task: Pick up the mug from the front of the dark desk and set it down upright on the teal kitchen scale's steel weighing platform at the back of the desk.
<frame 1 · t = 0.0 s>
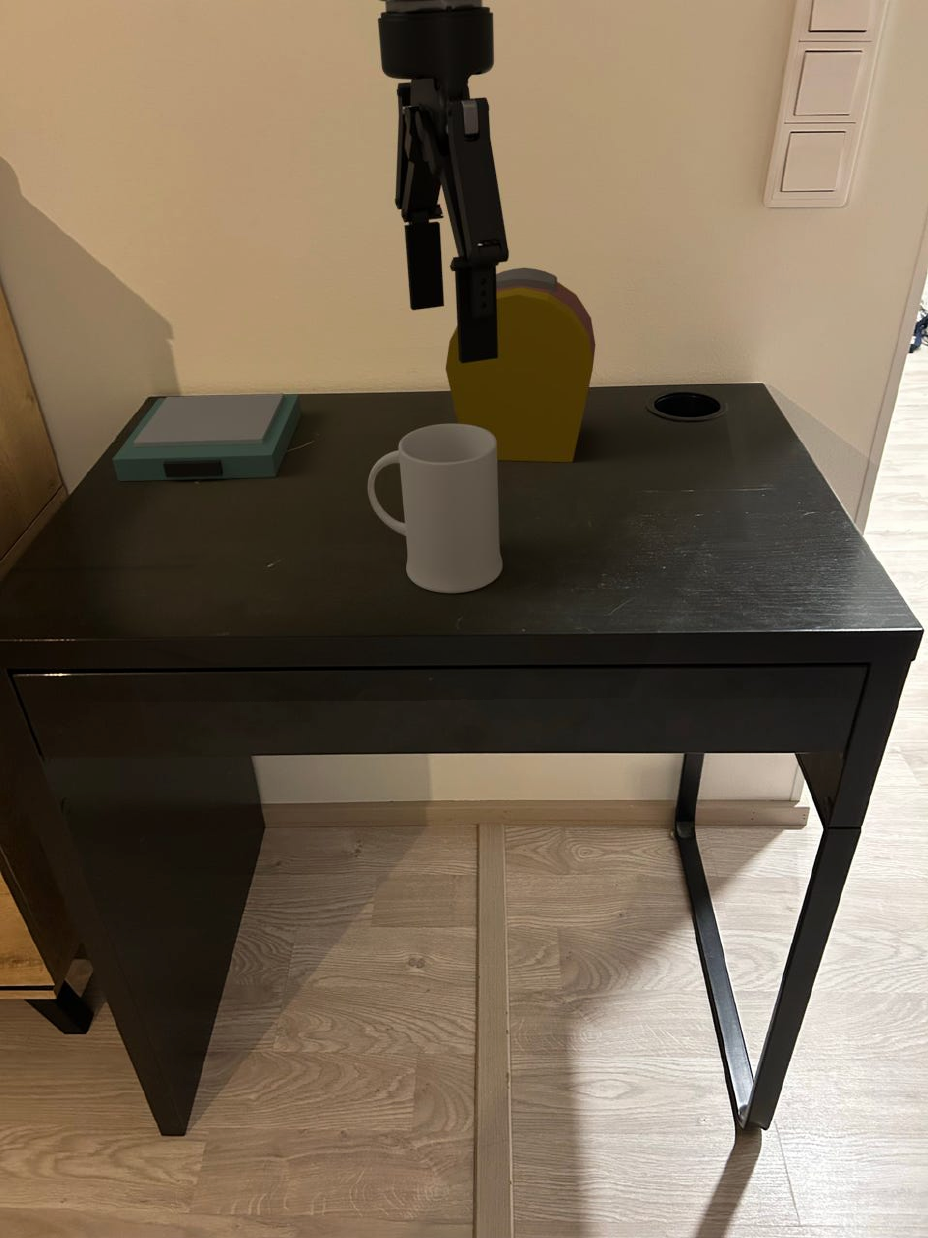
hand: (451, 331, 74), 21 cm above the table, tool pointing down, fingers open, 13 cm apart
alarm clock: (522, 446, 105), on the table
mug: (438, 566, 85), on the table
scale: (215, 445, 109), on the table
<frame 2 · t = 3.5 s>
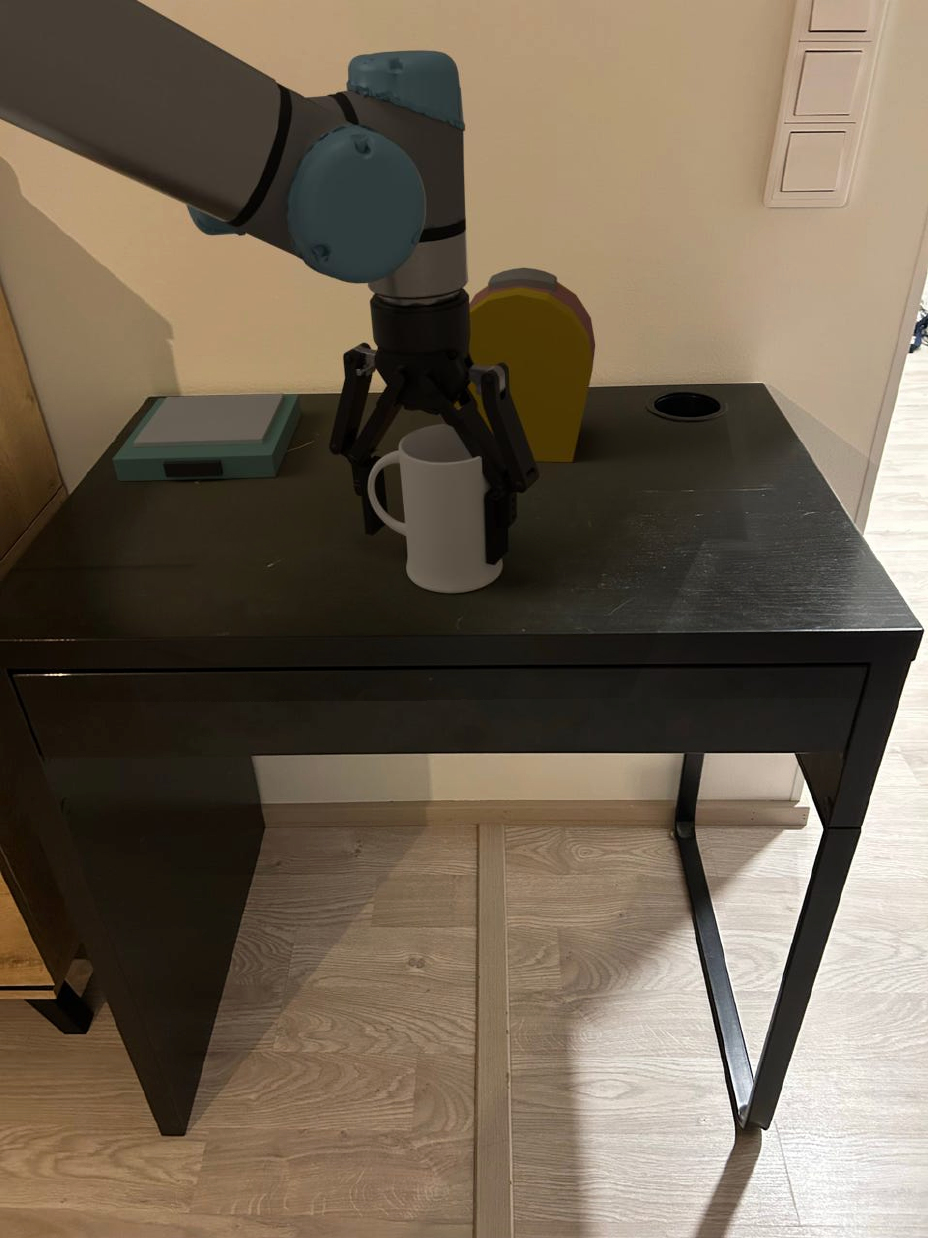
hand: (435, 542, 84), 2 cm above the table, tool pointing down, fingers closed on mug, 11 cm apart
mug: (438, 566, 85), on the table, touching gripper
everything else where it was.
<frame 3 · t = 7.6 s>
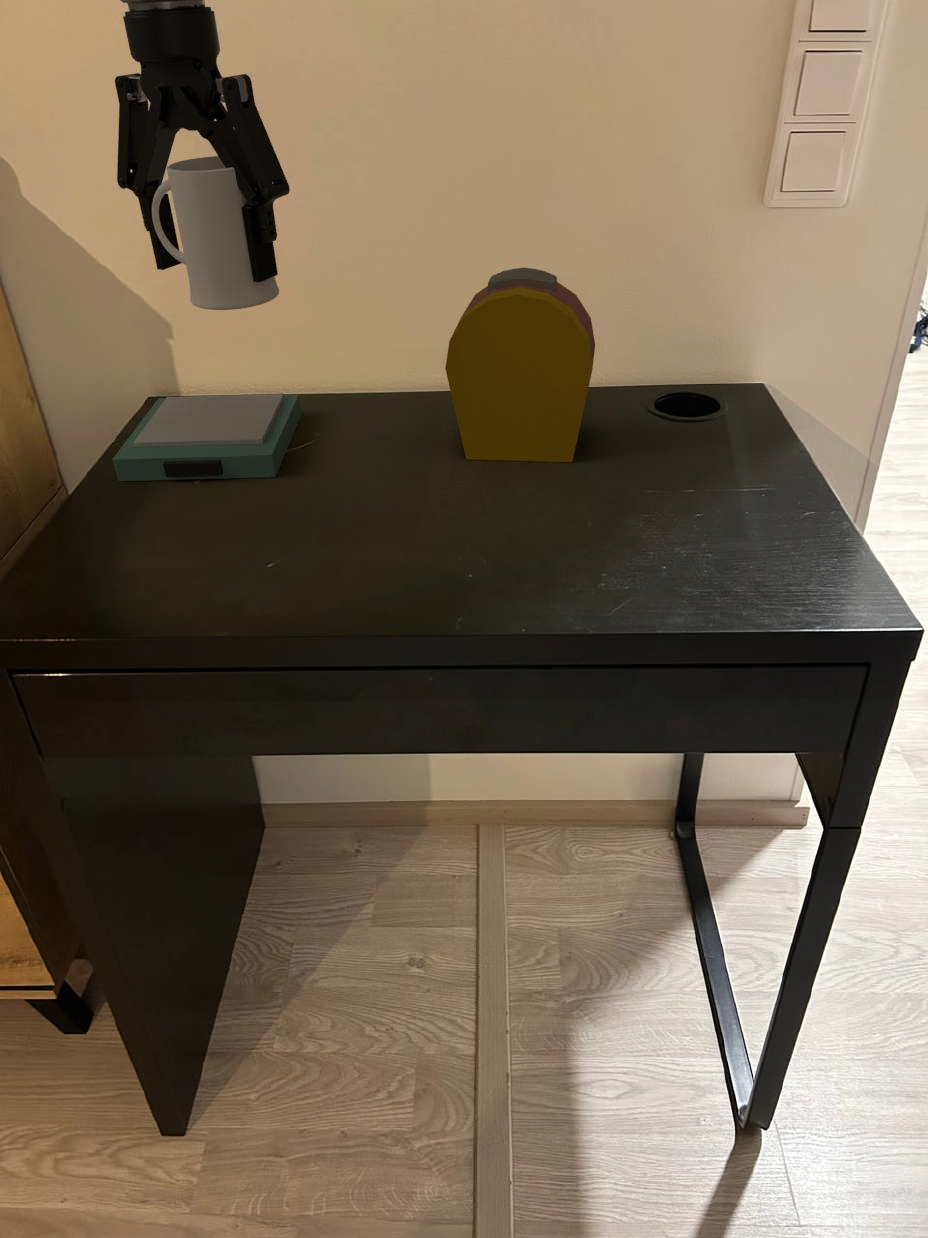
hand: (216, 272, 92), 20 cm above the table, tool pointing down, fingers closed on mug, 11 cm apart
mug: (222, 297, 94), point 18 cm above the table, touching gripper
everything else where it was.
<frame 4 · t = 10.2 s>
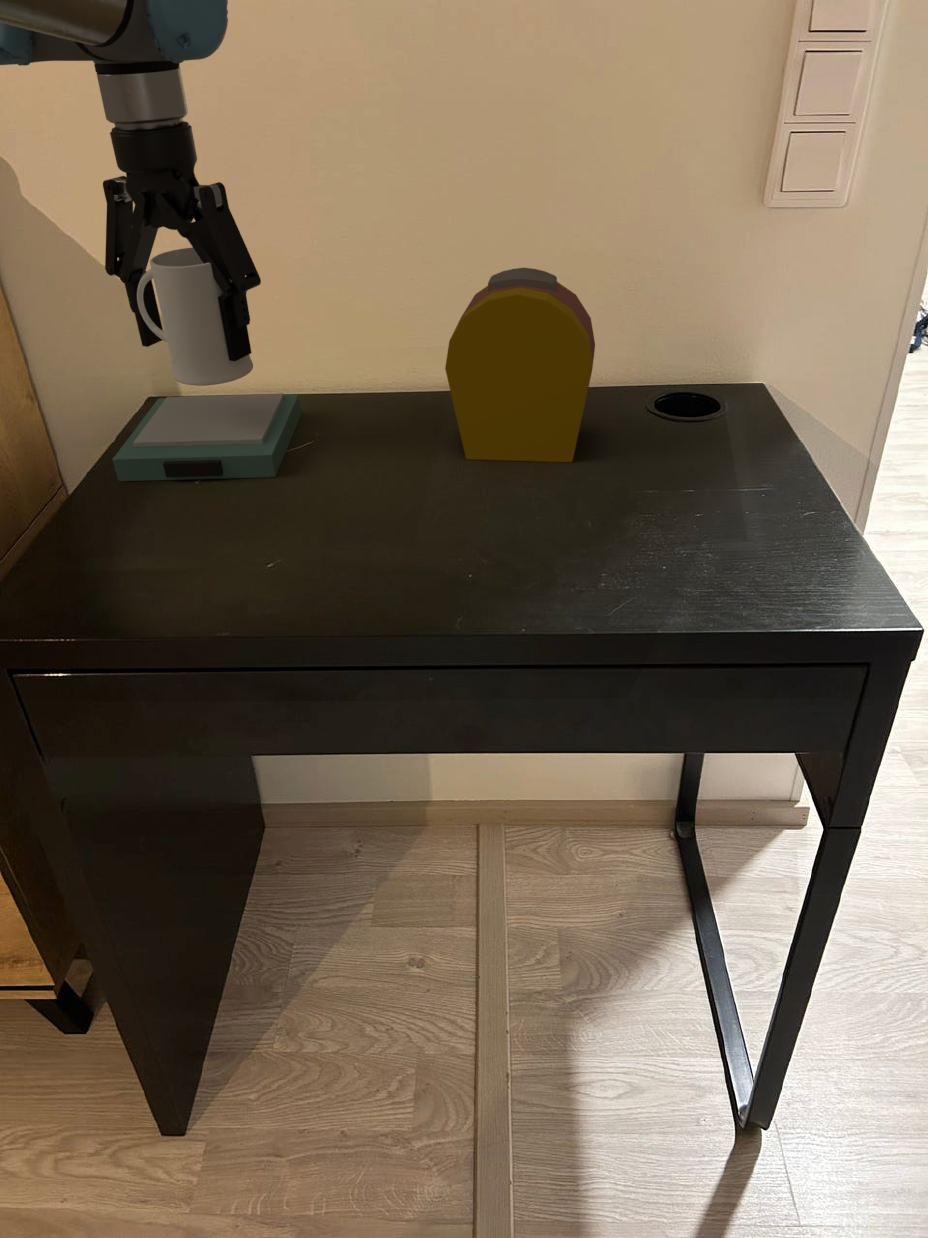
hand: (196, 349, 102), 11 cm above the table, tool pointing down, fingers closed on mug, 11 cm apart
mug: (201, 371, 104), point 9 cm above the table, touching gripper
everything else where it was.
when the fingers open (5 cm above the table, at t = 12.2 s): mug stays where it is, resting on scale.
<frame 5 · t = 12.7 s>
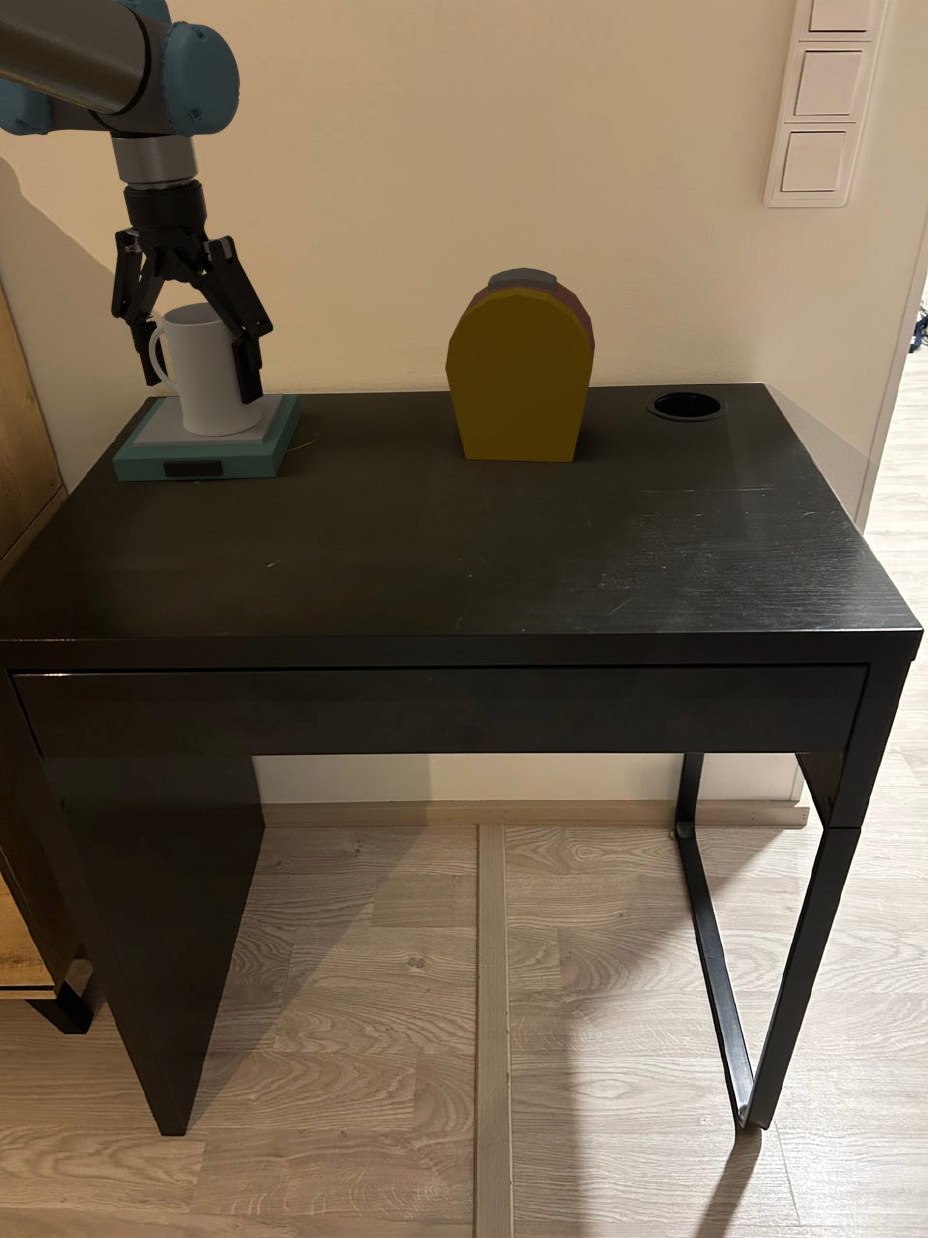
hand: (204, 390, 105), 7 cm above the table, tool pointing down, fingers open, 13 cm apart
mug: (211, 421, 107), point 3 cm above the table, touching scale
everything else where it was.
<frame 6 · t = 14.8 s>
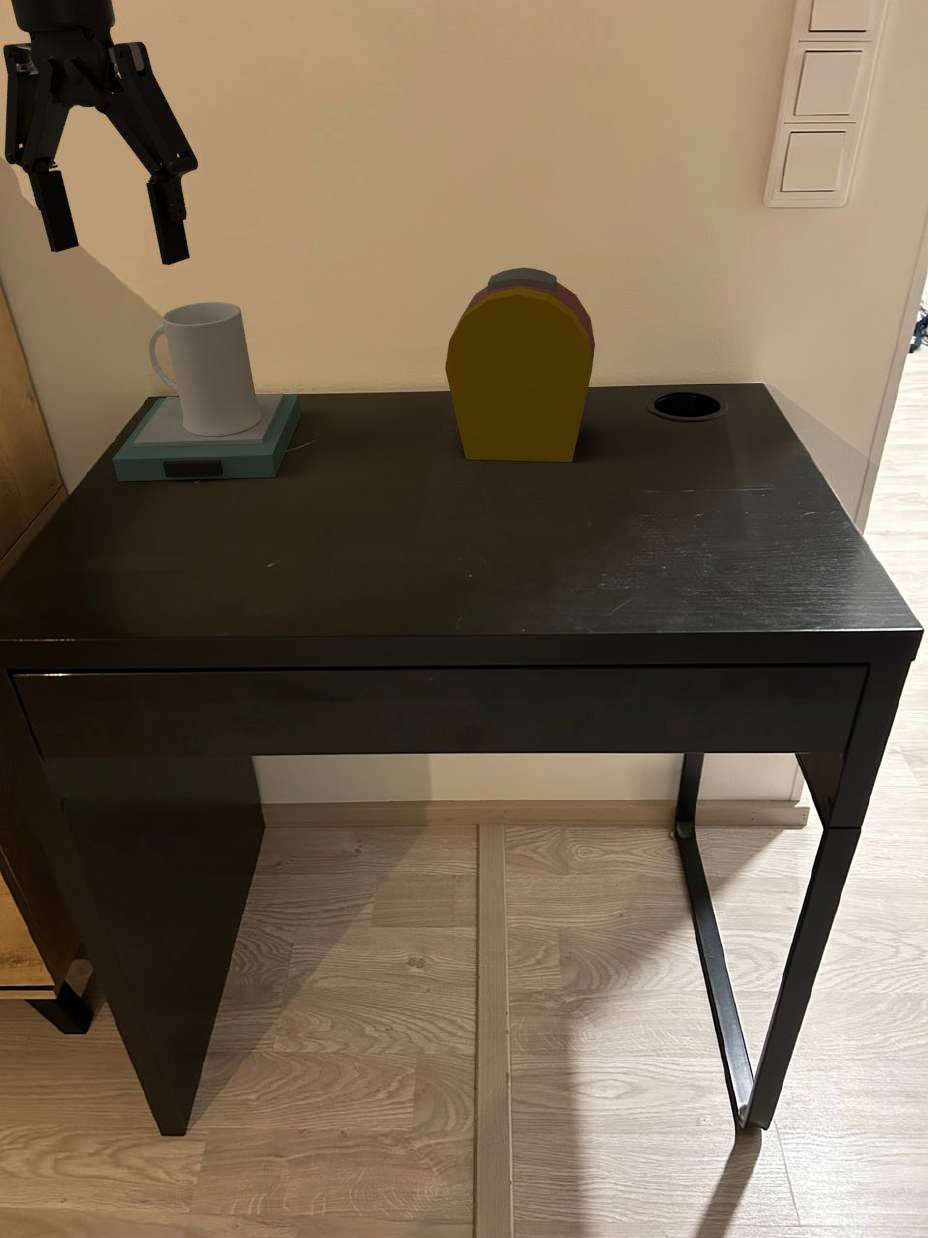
hand: (119, 255, 86), 24 cm above the table, tool pointing down, fingers open, 13 cm apart
nothing on the table moved.
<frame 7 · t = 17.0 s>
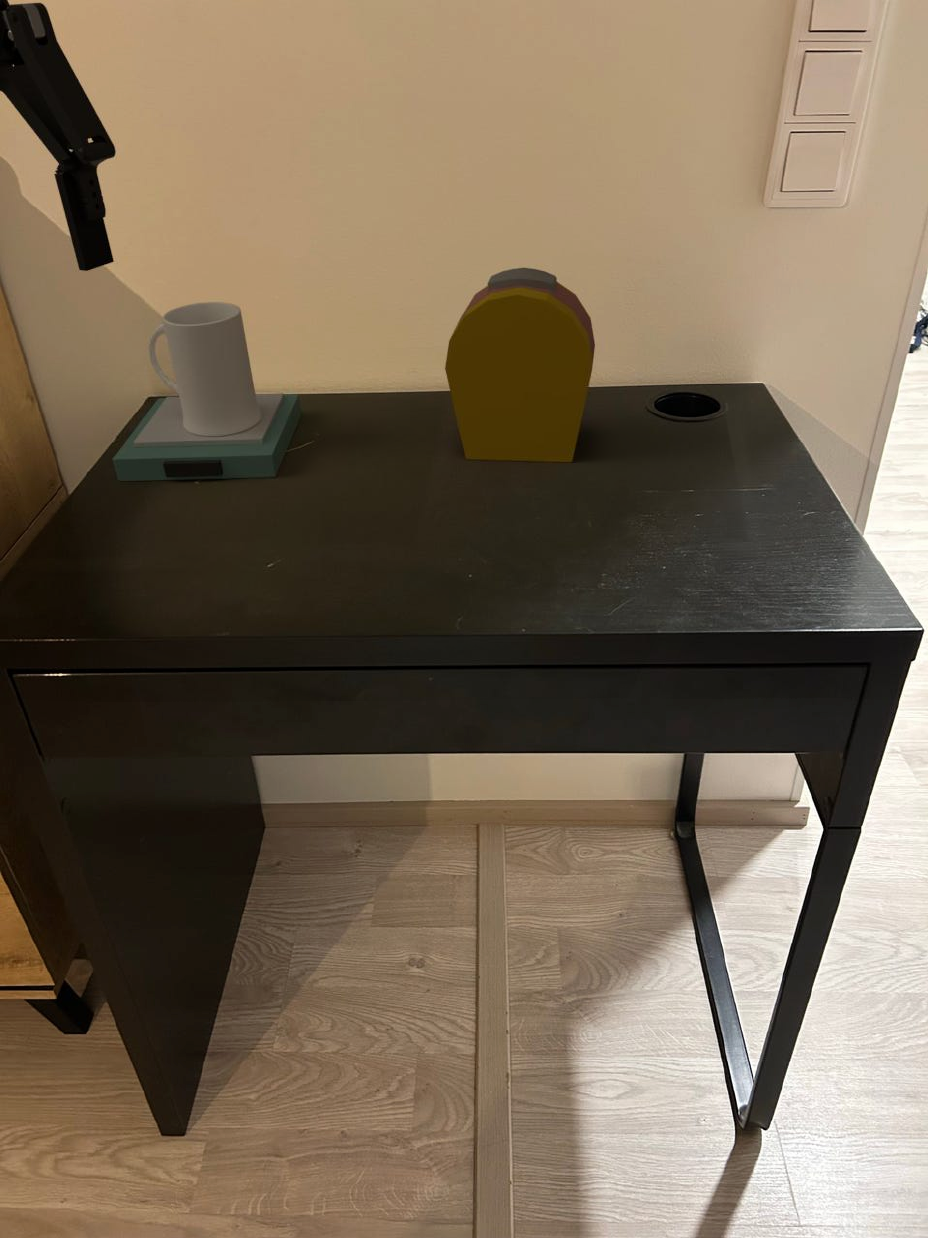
hand: (33, 258, 74), 27 cm above the table, tool pointing down, fingers open, 13 cm apart
nothing on the table moved.
at the end: mug inside the target area on the scale (0.1 cm from its centre), point 3.0 cm above the scale's base; mug tilted 0°; the gripper is holding nothing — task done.
